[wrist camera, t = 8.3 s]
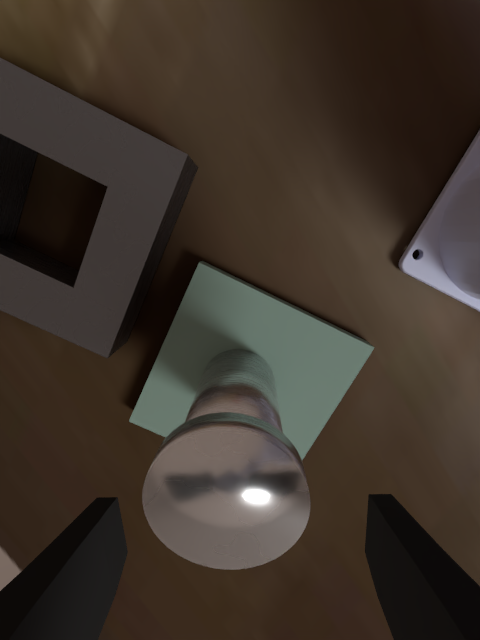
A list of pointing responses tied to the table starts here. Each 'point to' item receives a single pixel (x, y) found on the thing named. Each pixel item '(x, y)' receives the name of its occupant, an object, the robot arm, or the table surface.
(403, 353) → the table surface
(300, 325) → the rubber mat
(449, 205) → the robot arm
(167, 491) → the polished metal knob
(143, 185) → the metal housing
